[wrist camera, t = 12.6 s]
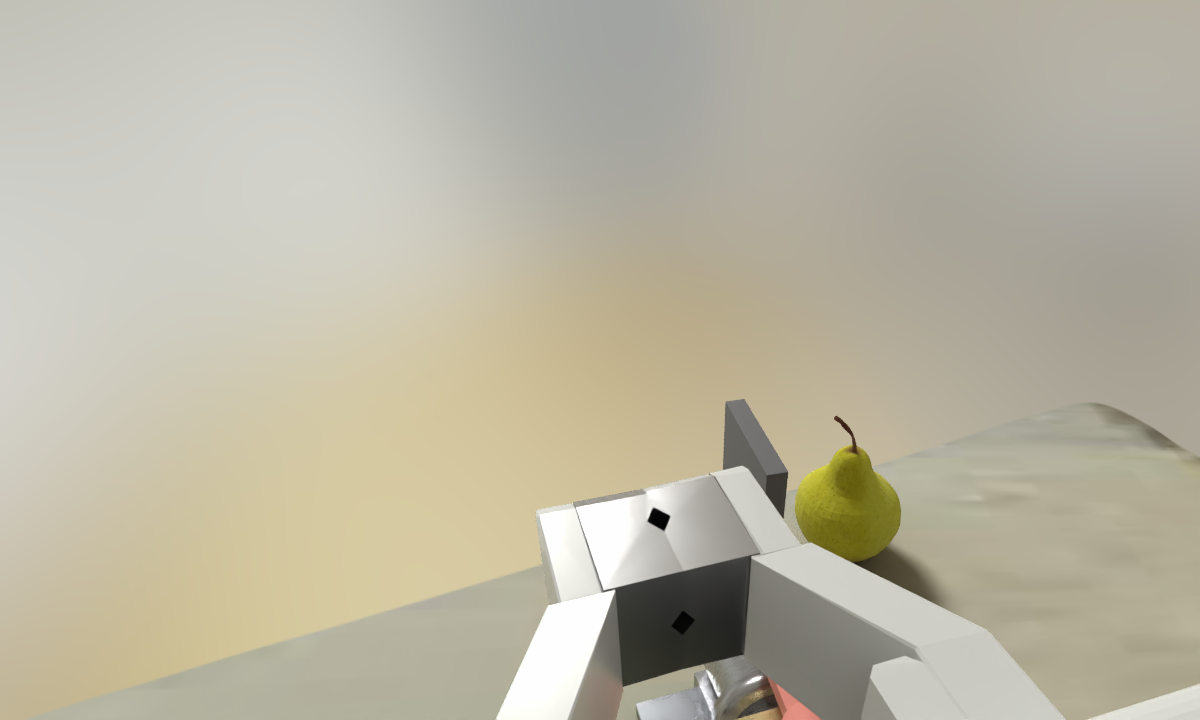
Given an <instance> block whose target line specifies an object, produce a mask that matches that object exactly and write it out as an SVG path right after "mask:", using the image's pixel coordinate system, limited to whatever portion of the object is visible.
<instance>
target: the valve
mask: <svg viewBox="0 0 1200 720" xmlns="http://www.w3.org/2000/svg"><path fill="white" fill-rule="evenodd" d="M704 666H705V669H706V670H704V671H700V672H696V673H694V688H692V689H688V690H685V691H681V692H677V693H674V694H670V695H666V696H663V697H659V698H655V699H652V700H648V701H644V702H641V703H637V704H636V713H637V716H638V719H639V720H782V718H783V715H782V713H781V710H780V708H779V705H778V703H777V700H776V698H775V695H774V693H773V690H772V688H771V686H770V683H769V681H768V678H767V676H766V675H765V674H764V673H762V672H761V671H760V670H759V669H757V668H756V667H755V666H754V665H752V664H751V663H750V662H749V661H747V660H746V659H745V658H744V655H740V656H736V657H732V658H728V659H723V660H719V661H715V662H711V663H707V664H704Z"/></svg>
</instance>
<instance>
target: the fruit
mask: <svg viewBox="0 0 1200 720" xmlns="http://www.w3.org/2000/svg"><path fill="white" fill-rule="evenodd" d="M834 419H835V420H836V421H837V422H839V423H840V424H841V425H842V427H843V428H844V429H845V430H846V431H847V432H848V433H849V434H850V435H851V437H852V443H853V445H850V446H846V447H843V448H842V449H840V450H838V451H837V452H836V453H835V455H834V457H833V458H832V460H831V462H830V463H829V464H828V465H826V466H823V467H821V468H818V469H816V470H814V471H813V472H811V473H809V474H808V475H807V476H806V477H805V478H804V479H803V481H802V482H801V484H800V486H799V488H798V491H797V494H796V499H795V514H796V518H797V522H798V524H799V527H800V529H801V531H802V533H803V535H804V536H805V538H806V539H807V541H808V542H809V543H813V544H815V545H817V546H819V547H821V548H823V549H825V550H827V551H829V552H831V553H833V554H835V555H837V556H839V557H841V558H843V559H845V560H847V561H849V562H857V561H862V560H866V559H868V558H871V557H873V556H875V555H877V554H878V553H880V552H881V551H882V550H883V549H884V548H885V547H886V546H887V545H888V544H889V543H890V542H891V540H892V539H893V538H894V536H895V535H896V533H897V531H898V529H899V526H900V518H901V508H900V502H899V498H898V496H897V494H896V492H895V491H894V489H893V488H892V487H891V485H890V484H889V483H888V482H887V481H886V480H885V479H884V478H883V477H882V476H881V475H879V474H878V473H876V472H874V471H873V469H872V466H871V461H870V459H869V456H868V455H867V453H866V452H865V451H864V450H863V449H861V448H860V447H857V446H856V442H855V438H854V435H853V433H852V431H851V429H850V428H849V427H848V425H847V424H846V423H844V422H843V420H841V419H840V418H839V417H838V416H835V418H834Z"/></svg>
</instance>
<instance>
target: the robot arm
mask: <svg viewBox="0 0 1200 720" xmlns="http://www.w3.org/2000/svg"><path fill="white" fill-rule="evenodd" d="M536 521H537V528H538V535H539V543H540V550H541V556H542V564H543V571H544V577H545V583H546V589H547V595H548V600H549V606H547V608H546V611H545V613H544V615H543V617H542V619H541V622H540V624H539V626H538V628H537V630H536V632H535V635H534V637H533V639H532V641H531V643H530V646H529V648H528V650H527V652H526V654H525V656H524V659H523V661H522V663H521V665H520V667H519V669H518V672H517V674H516V676H515V678H514V680H513V683H512V685H511V687H510V689H509V691H508V693H507V696H506V698H505V700H504V702H503V704H502V707H501V709H500V711H499V713H498V715H497V717H496V720H616V716H617V713H618V709H619V705H620V701H621V697H622V693H623V687H624V686H628V685H631V684H634V683H638V682H641V681H645V680H648V679H651V678H655V677H658V676H661V675H665V674H668V673H671V672H675V671H678V670H681V669H686V668H690V667H694V666H698V665H702V664H707V663H711V662H715V661H719V660H723V659H728V658H732V657H736V656H740V655H744V658H745V659H746V660H747V661H749V662H750V663H751V664H752V665H754V666H755V667H756V668H757V669H759V670H760V671H761V672H762V673H764V674H765V675H766V676H767V677H769V678H770V679H771V680H773V681H774V682H775V683H776V684H778V685H779V686H780V687H781V688H783V689H784V690H785V691H786V692H788V693H789V694H790V695H791V696H793V697H794V698H795V699H797V700H798V701H799V702H800V703H802V704H803V705H804V706H805V707H807V708H808V709H809V710H810V711H812V712H813V713H814V714H815V715H817V716H818V717H819V718H820V719H822V720H1066V719H1065V718H1064V717H1063V716H1062V715H1061V714H1060V712H1059V711H1058V710H1057V709H1056V708H1055V707H1054V706H1053V704H1052V703H1051V702H1050V701H1049V700H1048V699H1047V697H1046V696H1045V695H1044V694H1043V693H1042V692H1041V691H1040V689H1039V688H1038V687H1037V686H1036V685H1035V684H1034V683H1033V681H1032V680H1031V679H1030V678H1029V677H1028V676H1027V675H1026V673H1025V672H1024V671H1023V670H1022V669H1021V668H1020V667H1019V665H1018V664H1017V663H1016V662H1015V661H1014V660H1013V659H1012V657H1011V656H1010V655H1009V654H1008V653H1007V652H1006V651H1005V649H1004V648H1003V647H1002V646H1001V645H1000V644H999V643H998V641H997V640H996V639H995V638H994V637H993V636H992V635H991V633H990V632H989V631H988V630H986V629H984V628H982V627H980V626H978V625H976V624H974V623H972V622H970V621H968V620H966V619H964V618H962V617H960V616H958V615H956V614H954V613H952V612H950V611H948V610H946V609H944V608H942V607H940V606H938V605H936V604H934V603H932V602H930V601H928V600H926V599H924V598H922V597H920V596H918V595H916V594H914V593H912V592H910V591H908V590H906V589H904V588H902V587H900V586H898V585H896V584H894V583H892V582H890V581H888V580H886V579H884V578H882V577H880V576H878V575H876V574H874V573H871V572H869V571H867V570H865V569H863V568H861V567H859V566H857V565H855V564H853V563H851V562H849V561H847V560H845V559H843V558H841V557H839V556H837V555H835V554H833V553H831V552H829V551H827V550H825V549H823V548H821V547H819V546H817V545H815V544H813V543H806V544H802V545H801V544H800V543H799V541H798V540H797V538H796V537H795V535H794V534H793V533H792V531H791V530H790V528H789V527H788V525H787V524H786V522H785V521H784V520H783V518H782V517H781V515H780V514H779V512H778V511H777V510H776V508H775V507H774V505H773V504H772V502H771V501H770V499H769V498H768V497H767V495H766V494H765V492H764V491H763V489H762V488H761V487H760V485H759V484H758V482H757V481H756V479H755V478H754V477H753V475H752V474H751V472H750V471H749V469H747V468H745V467H744V466H739V467H735V468H730V469H726V470H722V471H717V472H713V473H709V475H702V476H698V477H693V478H689V479H684V480H680V481H675V482H671V483H666V484H662V485H657V486H653V487H649V488H644V489H640V490H635V491H630V492H624V493H619V494H615V495H609V496H604V497H598V498H593V499H588V500H583V501H577V502H573V505H572V504H566V505H561V506H556V507H550V508H545V509H539V510H536ZM1087 720H1200V684H1198V685H1195V686H1192V687H1189V688H1185V689H1182V690H1179V691H1176V692H1173V693H1170V694H1166V695H1163V696H1160V697H1157V698H1154V699H1150V700H1147V701H1144V702H1141V703H1138V704H1135V705H1131V706H1128V707H1125V708H1122V709H1119V710H1116V711H1112V712H1109V713H1106V714H1103V715H1100V716H1097V717H1093V718H1090V719H1087Z"/></svg>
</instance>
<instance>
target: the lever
mask: <svg viewBox="0 0 1200 720" xmlns="http://www.w3.org/2000/svg"><path fill="white" fill-rule="evenodd" d="M739 466H744V467H745V468H747V469H749V471H750V472H751V474H752V475H753V477H754V478H755V479H756V481H757V482H758V484H759V485H760V487H761V488H762V489H763V491H764V492H765V494H766V495H767V497H768V498H769V499H770V501H771V502H772V504H773V505H774V507H775V508H776V510H777V511H778V512H779V514H780V515H781V517H782V518H784V508H785V498H786V488H787V478H788V471H787V469H786V468H785V466H784V464H783V463H782V461H781V459H780V458H779V456H778V454H777V453H776V451H775V450H774V448H773V446H772V444H771V443H770V441H769V439H768V438H767V436H766V435H765V433H764V431H763V430H762V428H761V426H760V425H759V423H758V421H757V419H756V418H755V416H754V415H753V413H752V411H751V410H750V408H749V406H748V405H747V403H746V401H745V400H744V399H742V400H735V401H727V402H726V407H725V433H724V459H723V470H726V469H730V468H735V467H739ZM767 678H768V681H769V683H770V686H771V688H772V690H773V693H774V695H775V698H776V700H777V703H778V705H779V708H780V710H781V713H782V715H783V718H782V720H822V719H820V718H819V717H818V716H817V715H815V714H814V713H813V712H812V711H810V710H809V709H808V708H807V707H805V706H804V705H803V704H802V703H800V702H799V701H798V700H797V699H795V698H794V697H793V696H791V695H790V694H789V693H788V692H786V691H785V690H784V689H783V688H781V687H780V686H779V685H778V684H776V683H775V682H774V681H773V680H771V679H770V678H769V677H767Z"/></svg>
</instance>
